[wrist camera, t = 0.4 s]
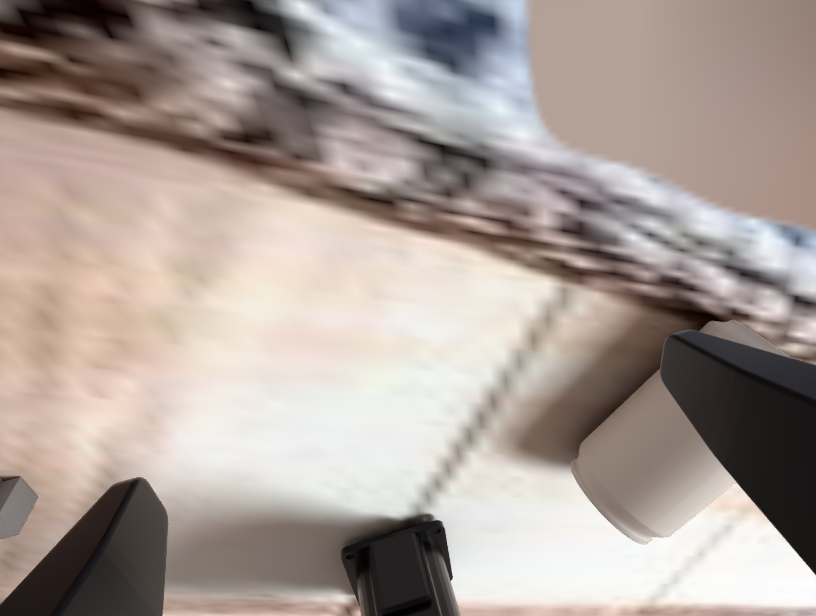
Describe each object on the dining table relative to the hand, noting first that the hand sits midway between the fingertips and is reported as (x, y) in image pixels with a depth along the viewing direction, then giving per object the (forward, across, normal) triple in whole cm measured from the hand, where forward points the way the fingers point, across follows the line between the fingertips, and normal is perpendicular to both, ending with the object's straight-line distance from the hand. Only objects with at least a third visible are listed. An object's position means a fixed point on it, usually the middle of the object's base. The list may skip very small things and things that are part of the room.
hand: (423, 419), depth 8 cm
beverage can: (+10, -20, +11) cm, 25 cm away
